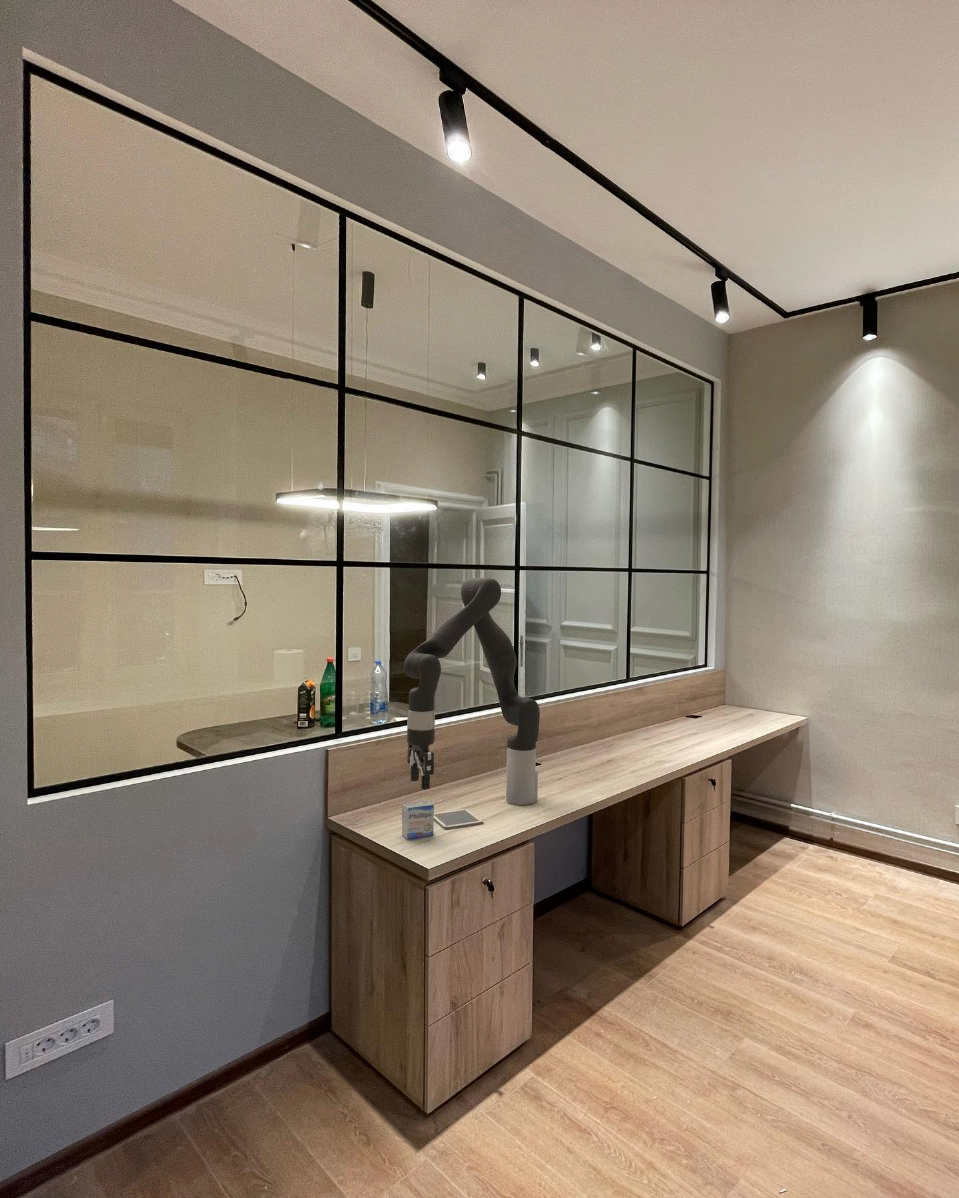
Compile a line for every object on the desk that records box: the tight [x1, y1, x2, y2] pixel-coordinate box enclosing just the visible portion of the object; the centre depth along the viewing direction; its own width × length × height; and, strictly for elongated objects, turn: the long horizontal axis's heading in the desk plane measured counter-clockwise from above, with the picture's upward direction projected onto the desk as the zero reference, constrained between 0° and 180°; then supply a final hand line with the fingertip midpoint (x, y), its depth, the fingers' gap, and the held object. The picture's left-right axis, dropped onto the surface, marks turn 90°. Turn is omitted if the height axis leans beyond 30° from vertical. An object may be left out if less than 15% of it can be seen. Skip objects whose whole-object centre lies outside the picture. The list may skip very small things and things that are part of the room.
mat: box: [434, 808, 484, 831], centre depth 200 cm, size 12×12×1 cm
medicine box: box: [401, 800, 435, 841], centre depth 188 cm, size 8×4×9 cm, turn 115°
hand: (419, 784), depth 187 cm, fingers open, 8 cm apart
